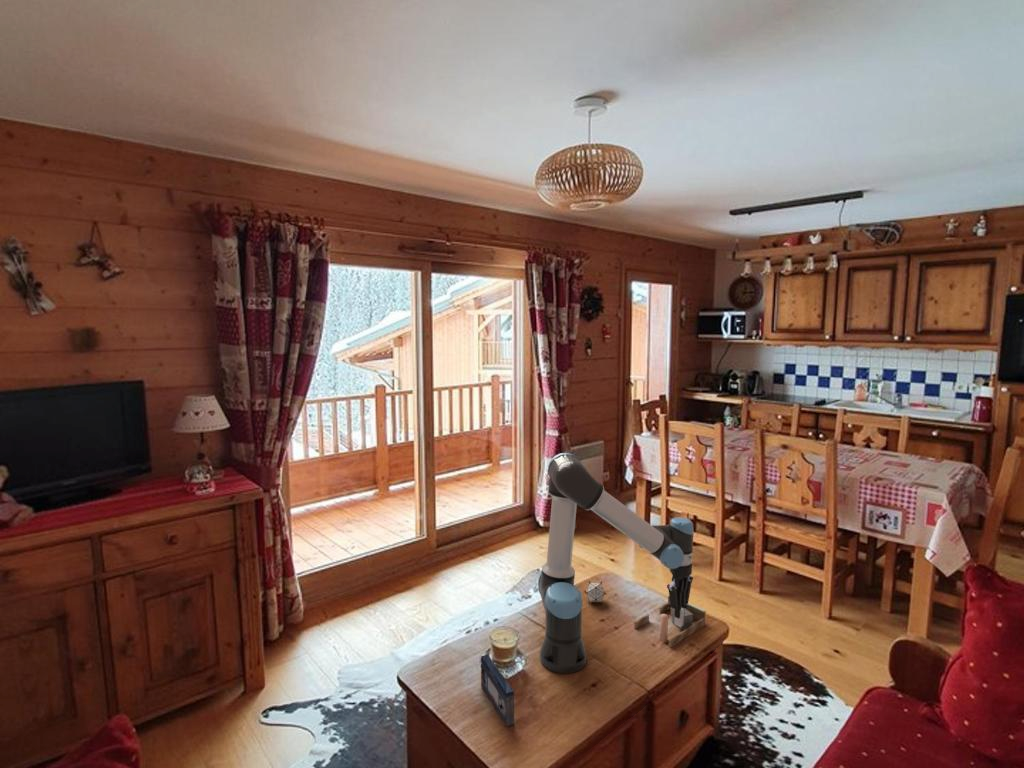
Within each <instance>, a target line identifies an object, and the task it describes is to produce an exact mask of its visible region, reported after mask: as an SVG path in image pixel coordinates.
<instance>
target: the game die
mask: <svg viewBox="0 0 1024 768" xmlns="http://www.w3.org/2000/svg"><path fill="white" fill-rule="evenodd" d="M602 583H603V581H600V582H590V580H588V585H587V588H586V590H584V593H585V594H586V595H587V599H588V604H590V603H600V604H601V605H603V602H602V601H603V599H604V597H605V595H607V592H606V591H605V590H604V587H603V584H602Z"/></svg>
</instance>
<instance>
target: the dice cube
mask: <svg viewBox="0 0 1024 768" xmlns="http://www.w3.org/2000/svg"><path fill="white" fill-rule="evenodd" d="M671 617H672V618H671V624H672V625H674V626H675V627H677V629H679V630H681V631H684V630H685V629H687V628H688V627H690V626H691V625H693V624H694V623H693V622H694V621H693V614H692V613H691V612H689V611H688V610H687V609H685V608H684V622H683V626H682V627H680V626H677V625H675V624H674V622H675V610H672V615H671Z"/></svg>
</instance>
